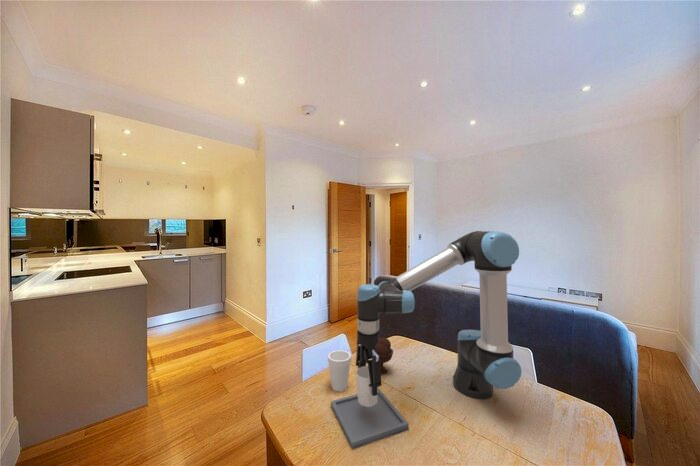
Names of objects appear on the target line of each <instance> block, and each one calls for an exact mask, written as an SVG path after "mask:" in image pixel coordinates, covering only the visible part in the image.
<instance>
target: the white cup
mask: <svg viewBox="0 0 700 466" xmlns="http://www.w3.org/2000/svg"><path fill="white" fill-rule="evenodd" d="M355 374H356V375H355V376H356V377H355V378H356V394H358V402H359V404H361V405H362V406H365V407H371V406H374V405H375V404H372V405H370V404H369V384H371V383H370V376H369V370H368V365H366V366H363V367H360V368H358V367H357V369H356V372H355ZM378 389H379V387H377V395H378Z"/></svg>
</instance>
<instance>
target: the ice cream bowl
mask: <svg viewBox="0 0 700 466" xmlns="http://www.w3.org/2000/svg"><path fill="white" fill-rule="evenodd" d="M391 346H392V344H391V341H390V340H389V339H388V338H386V337H381V338H379V342H378V343H377V344H376V346H375V348H376V354H377V355H379V354H380V356H381V360H380V367H381V375H385V374H387V373H388V369H387V368H386V367H385V366H384V364H385V363H389V362H390V361H391V359H392V357H393V354H394V350H393V349H392V348H391Z"/></svg>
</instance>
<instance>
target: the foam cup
mask: <svg viewBox="0 0 700 466" xmlns="http://www.w3.org/2000/svg"><path fill="white" fill-rule="evenodd" d="M327 355H328V356H327V362H328V367H329V368H328V369H329V374H330V375H329V376H330V386H331V389H332V390H333V391H334V392H344V391H345V390H347V388H348V383H349V376H350V375H349V374H350V369H351V368H350V366H351V362H352V355H351V353H350V352H349V351H346V350H341V349H339V350H333V351H331V352H329V353H328V354H327Z"/></svg>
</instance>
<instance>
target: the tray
mask: <svg viewBox="0 0 700 466" xmlns="http://www.w3.org/2000/svg"><path fill="white" fill-rule="evenodd" d="M330 408H331V409H332V412H333V413H334V416H335V418H336V419H337V422H338V423H339V426H340V427H341V430H342V432H343V434H344V436H345V438H346V440H347V442H348V444H349V446H350V448H351V450H355V449H358V448H360V447H363V446H367V445H369V444H372V443H375V442H378V441H380V440H383V439H386V438H388V437H392V436H395V435H397V434H401V433H403V432H406V431H409V428H410V426H409V425H410V424H409V422H408V421H407V420H406V418H405V417H404V416H403V415H402V414H401V413H400V412H399V410H397V408H396V407H395V406H394V405H393V404H392V402H391V401H390V399H388V397H387V396H386V395H385V394H384V393H383V391H382V390H381V389H380V388H378V395H377V403H376V404H375V405H374V406H371V407H365V406H362V405H361V404H359V402H358V394H357V393H356V394H354V395H350V396H345V397H341V398H338V399H334V400H331V401H330Z"/></svg>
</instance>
